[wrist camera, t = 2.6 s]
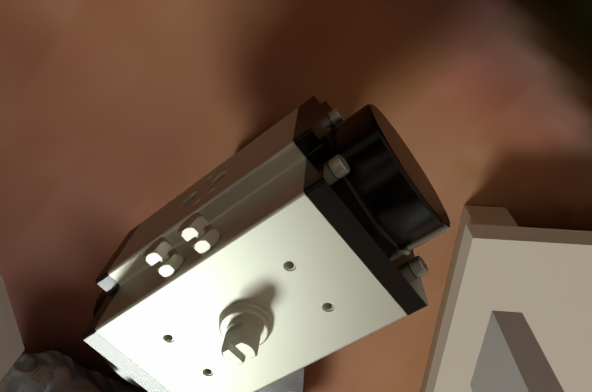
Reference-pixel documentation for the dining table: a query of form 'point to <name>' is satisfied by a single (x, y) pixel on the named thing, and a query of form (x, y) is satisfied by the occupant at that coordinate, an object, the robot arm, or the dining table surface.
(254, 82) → the dining table surface
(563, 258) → the stand cream
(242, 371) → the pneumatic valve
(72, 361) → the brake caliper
